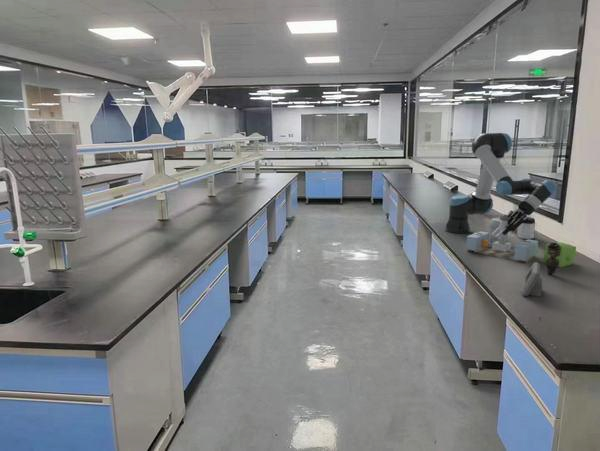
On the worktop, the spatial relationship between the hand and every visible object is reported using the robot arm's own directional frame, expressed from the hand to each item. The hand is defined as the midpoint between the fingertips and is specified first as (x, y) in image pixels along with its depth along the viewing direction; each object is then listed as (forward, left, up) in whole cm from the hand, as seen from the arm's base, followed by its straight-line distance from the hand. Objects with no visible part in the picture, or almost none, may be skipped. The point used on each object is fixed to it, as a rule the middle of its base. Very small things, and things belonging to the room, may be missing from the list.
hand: (495, 237), depth 214 cm
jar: (-2, +49, -10) cm, 50 cm away
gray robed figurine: (+32, -41, -10) cm, 53 cm away
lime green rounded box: (+29, +6, -10) cm, 31 cm away
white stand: (+2, +3, -7) cm, 8 cm away
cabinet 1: (-10, +3, -8) cm, 13 cm away
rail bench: (+2, +3, -9) cm, 10 cm away
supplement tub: (-7, +21, -10) cm, 24 cm away
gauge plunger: (-8, +3, -7) cm, 11 cm away
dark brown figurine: (+31, -13, -10) cm, 35 cm away
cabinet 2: (+15, +3, -8) cm, 17 cm away
